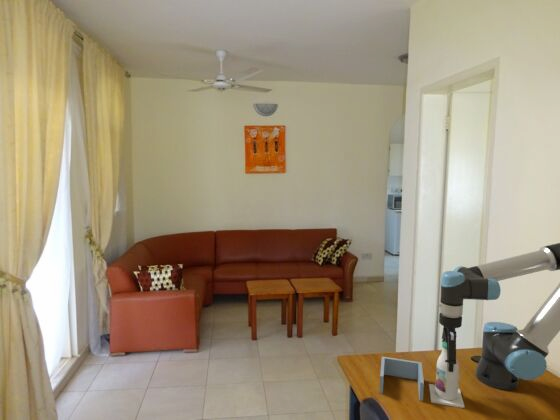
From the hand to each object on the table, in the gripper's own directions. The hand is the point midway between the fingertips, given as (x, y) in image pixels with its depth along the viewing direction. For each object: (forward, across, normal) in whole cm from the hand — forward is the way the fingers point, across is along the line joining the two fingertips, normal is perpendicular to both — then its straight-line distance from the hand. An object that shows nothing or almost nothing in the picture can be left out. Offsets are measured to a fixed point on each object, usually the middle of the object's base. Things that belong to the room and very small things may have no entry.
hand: (447, 369), depth 139 cm
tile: (+11, 0, 0) cm, 11 cm away
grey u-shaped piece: (+11, -2, -16) cm, 19 cm away
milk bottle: (+10, 0, 0) cm, 10 cm away
